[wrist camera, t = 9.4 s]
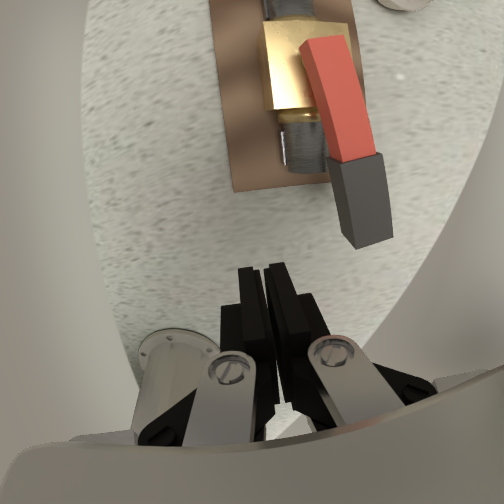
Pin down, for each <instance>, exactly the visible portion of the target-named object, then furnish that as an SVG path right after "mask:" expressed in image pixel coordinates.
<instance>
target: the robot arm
mask: <svg viewBox="0 0 504 504" xmlns="http://www.w3.org/2000/svg"><path fill="white" fill-rule="evenodd" d="M238 276H239V289H240V302H241V303H239V304H232V305H224V306H221V325H220V349H219V348H218V347H217V346H216V345H215V344H214V343H213V342H212V341H210V340H209V339H207V338H205V337H204V336H202V335H199V334H197V333H194V332H190V331H186V330H179V329H167V330H162V331H158V332H155V333H153V334H151V335H149V336H148V337H146V338H145V340H144V341H143V342H142V344H141V346H140V348H139V351H138V361H139V364H140V366H141V368H142V370H143V371H144V375H143V379H142V383H141V387H140V391H139V395H138V399H137V403H136V407H135V412H134V416H133V420H132V425H131V429H130V430H124V431H117V432H109V433H101V434H90V435H80V436H76V437H74V438H72V439H71V440H69V441H67V442H51V443H46V444H40V445H36V446H32V447H29V448H27V449H25V450H23V451H21V452H20V453H18V455H17V456H16V457H15V458H14V459H13V461H12V462H11V464H10V466H9V468H8V469H7V472H6V474H5V476H4V478H3V481H2V484H1V486H0V504H504V365H502V366H499V367H496V368H494V369H491V370H487V369H481V370H476V371H471V372H467V373H462V374H458V375H452V376H447V377H442V378H436V379H434V380H433V382H432V383H430V382H428V381H426V380H424V379H422V378H419V377H415V376H412V375H409V374H406V373H403V372H399V371H396V370H393V369H390V368H387V367H384V366H381V365H378V364H375V363H372V362H371V361H370V360H369V359H368V357H367V356H366V355H365V354H364V352H363V351H362V350H361V348H360V347H359V346H358V345H357V343H355V342H354V341H353V340H352V339H350V338H348V337H345V336H341V335H331V334H330V332H329V330H328V328H327V325H326V323H325V321H324V319H323V317H322V315H321V313H320V310H319V308H318V306H317V304H316V302H315V300H314V298H313V296H312V294H311V293H306V294H300V295H297V294H296V291H295V289H294V286H293V283H292V281H291V278H290V276H289V273H288V271H287V268H286V266H285V263H284V262H281V263H274V264H269V268H266V269H264V278H265V287H266V296H267V304H266V299H265V294H264V290H263V285H262V281H261V276H260V271H259V270H253V266H252V267H245V268H238ZM267 305H268V308H267ZM276 361H277V365H276ZM277 366H278V371H279V376H280V381H281V386H282V391H283V396H284V400H285V403H287V402H291V404H292V408H293V411H294V410H296V411H298V412H300V413H302V414H304V415H306V418H307V422H308V424H309V426H310V428H311V431H312V433H309V434H304V435H299V436H294V437H288V438H282V439H275V440H268V441H266V423H267V422H268V421H269V420H270V419H271V418H272V417H273V416H274V415H275V406H274V405H275V404H280V398H279V387H278V376H277Z"/></svg>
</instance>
